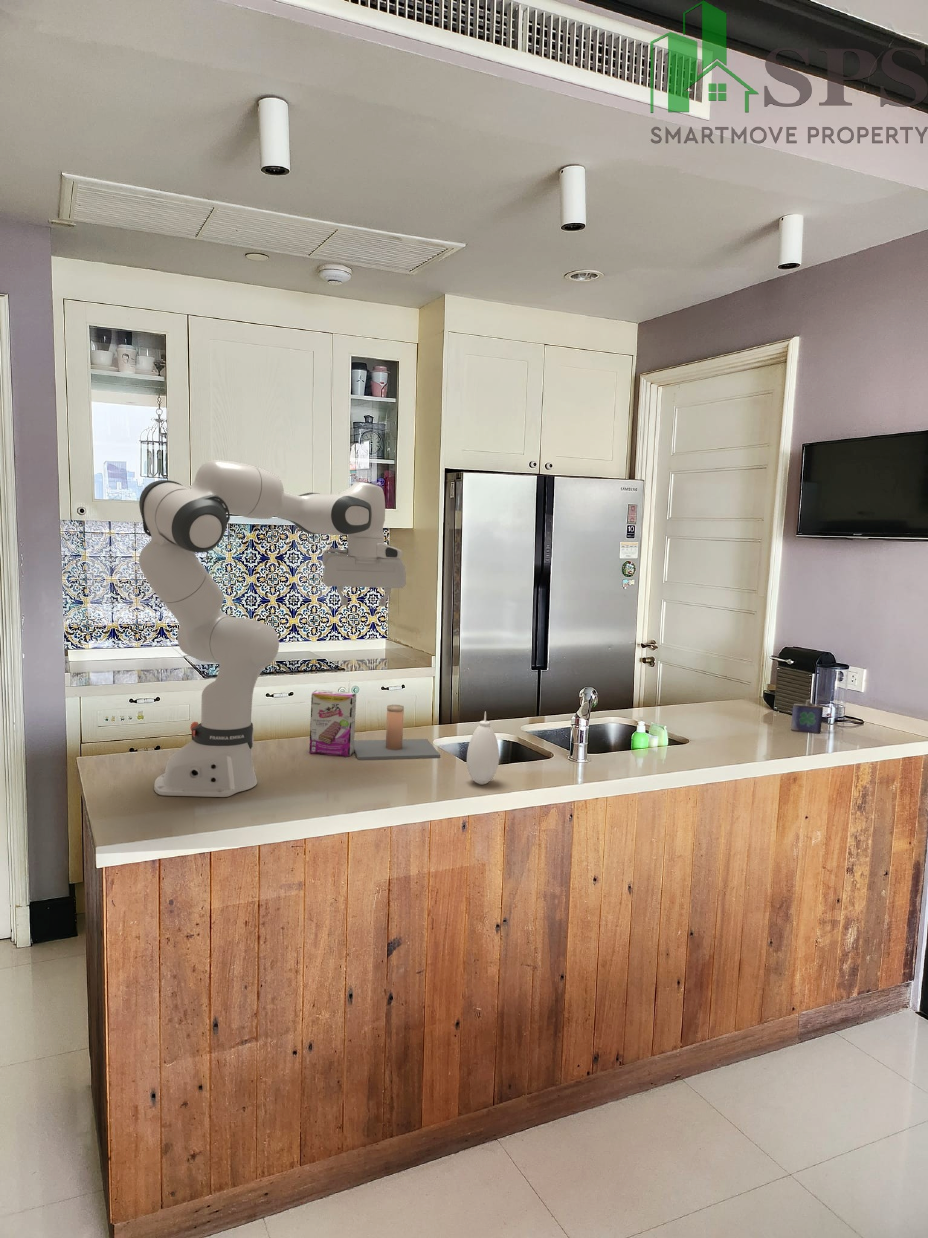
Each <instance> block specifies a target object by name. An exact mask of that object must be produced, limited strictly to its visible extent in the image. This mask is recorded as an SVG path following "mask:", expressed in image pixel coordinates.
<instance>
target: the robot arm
mask: <svg viewBox="0 0 928 1238" xmlns="http://www.w3.org/2000/svg"><path fill="white" fill-rule="evenodd" d="M284 489H285V488H284V485H283V483H282V480H281V478H280V477H279V476H278V475H276V474H275V473H273V472H271V471H269V470H267V469H265V468H262V467H259V466H256V465H253V464H249V463H244V462H241V461H233V460H228V459H227V460H226V459H210V460H208V461H205V462H204V463H202V465H201V466H200V467H199V468H198V470H197V472H196V474H195V478H194V482H193V483H192V484H190V485H189V486H188V487H186V486H184V485H183V484H181V483H179V482H178V481H174V480H169V479H160V480H156V481H152V482H150V483H149V484H148V485H147V486H145V487H144V488H143V490H142V492H141V494H140V496H139V501H138V503H139V504H138V507H139V513H140V515H141V519H142V529H143V531H144V533H145V534H146V535H147V536H149V537H151V538H150V541H149V542H148V543H147V544H146V545H145V546H144V547H143V548H142V550H141V552H140V553H139V556H138V557H139V558H138V564H139V567H140V570H141V572H142V574H143V576H144V577H145V579H146V581H147V583H148V584H149V586H150V588H151V589H152V590H153V591H154V593H155V595H157V597H158V598H159V599H160V600H161V602H163V604H164V605H165V607H166V608H167V609H168V610H169V612H170V613H171V614H172V616H174V618H175V619H176V621H177V622H178V624H179V627H178V631H177V637H176V638H177V643H178V646H179V649H180V650H181V651H182V652H183V653H184V654H185V655H187V656H189V657H191V658H194V659H196V660H198V661H201V662H206V663H213V664H218V665H219V669H218V672H217V676H216V678H215V680H214V681H212V682H210V683H209V684H207V685H206V686H205V687H204V688H203V690H202V692H201V715H200V716H201V718H200V719H201V721H200V723H199V722H198V721H193V722H192V723H191V724H190V731H191V740H190V741H189V742H188V743H186V744H184V745H183V746H182V747H181V748H180V749H178V750H177V751H175V752H174V753H173V754H171V756H170V757H169V758H168V761H167V762H166V765H165V769H164V773H162V774H161V775H159V776H158V777H157V778H156V779H155V781H154V785H153V789H154V791H155V793H156V794H158V795H159V796H170V797H171V796H173V797H175V796H176V797H177V796H178V797H211V798H212V797H215V798H216V797H217V798H218V797H219V798H226V797H227V798H228V797H231V796H233V795H235V794H238V793H240V792H245V791H246V790H250V789H252V788H254V787H255V786H256V785H257V784H258V780H257V777H256V773H255V772H256V771H255V767H254V759H253V750H252V749H253V747H254V746H253V745H254V732H255V731H254V724H253V722H252V710H253V709H252V708H253V695H254V690H255V686H256V683H257V680H258V678H259V676H260V675H261V673H262V672H263V671H264V670H265V668H267V667H268V666H270V665H271V664H272V663H273V662H274V660H275V659H276V657H277V654H278V652H279V646H280V640H279V636H278V633H277V631H276V630H275V629H274V627H272V626H271V625H269V624H267V623H263V622H262V621H258V620H256V619H250V618H244V617H236V616H231V615H228V614H226V613H225V612H224V611H222V610H221V609H222V606H223V603H224V602H223V601H224V594H223V591H222V590H221V588H220V587H219V585H218V584H217V583H216V581H214V579H213V578H212V576H211V575H210V573H209V572H208V571H207V569H206V568H205V566H204V565H203V564H202V563H201V562H200V561H199V559H198V558H197V556H196V553H207V552H210V551H211V550H214V549H215V548H216V547H217V546H218V545H219V544H220V542H221V541H222V539H223V538H224V535H225V533H226V531H227V527H228V526H227V525H228V523H229V521H230V520H231V515H236V516H240V517H242V518H243V517H244V518H249V519H257V520H258V519H259V520H260V519H261V520H266V519H267V520H269V519H272V518H278V519H281V520H285V521H289V522H290V523H292V524H293V525H295V526H296V527H297V528H298V529H300V531H302V532H304V533H306V534H308V535H329V536H330V535H332V536H333V535H334V536H347V548H335V547H330V548H328V549H326V550H324V551H323V553H322V556H321V557H322V561H321V562H322V565H323V566H324V567H323V573H322V583H323V584H324V585H325V586H326V587H336V591H337V593H338V595H339V597H340V605H341V606H348V604H349V603H348V601H349V597H345V596H344V594H343V592H344V589H345V588H346V587H347V588H373V589H374V588H375V589H376V588H378V589H381V588H382V589H383V592H384V595H383V596H382V598H379V599H378V601H379V602H378V605H379V606H380V607H386V606H387V599H388V598H389V597H390V595H391V593H392V589H404V587H405V586H406V583H407V582H406V580H407V578H406V577H407V576H406V567H405V563H404V561H403V560H401V558H402V557H403V552H402V551H403V550H402V549H400V548H396V547H394V546H392V545H390V544H385V535H384V524H385V521H386V497H385V494H384V490H383V488H382V487H381V486H380V485H378V484H376V483H373V482H367V481H360V480H358V481H354V482H353V483H352V484H351V486H350V487H348V488H346V489H345V490H343V491H340V492H338V493H318V492H305V493H303V494H298V495H297V494H294V493H291V492H287V491H284Z"/></svg>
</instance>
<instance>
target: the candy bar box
mask: <svg viewBox="0 0 928 1238" xmlns="http://www.w3.org/2000/svg"><path fill="white" fill-rule="evenodd" d="M310 699H311V701H310V702H311V703H310V704H311V705H310V724H309V727H310V729H309V730H310V731H309V748H308V749H309V750H308V751H309V754H318V755H326V754H327V756H337V757H338V756H341V757H351V755H352V754H353V753H354V740H355V731H356V730H355V728H356V709H357V708H356V707H357V693H355V692H344V691H334V690H323V689H321V690H320V689H316V690H314V691H313V692H312V693H311V698H310Z"/></svg>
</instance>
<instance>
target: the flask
mask: <svg viewBox="0 0 928 1238" xmlns="http://www.w3.org/2000/svg"><path fill="white" fill-rule="evenodd" d="M823 711H824V707H823V706H822V705H819V704H818V703H817V704H816V703H812V702H811V699H806V700H805V703H804V704H802V703H794V704H793V707H792V716H791V724H790V731H791V732H797V733H798V732H799V733H804V734H805V733H807V734H808V733H809V734H816V735H818V734H819V735H820V734H821V731H822V724H823V722H822V721H823V713H824V712H823Z"/></svg>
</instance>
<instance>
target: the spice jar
mask: <svg viewBox="0 0 928 1238" xmlns="http://www.w3.org/2000/svg"><path fill="white" fill-rule="evenodd" d="M404 709H405V708H404V705H400V704H389V705H387V707H386V729H385V730H386V731H385V740H386V748H387V749H390V750H399V749H402V740H403V738H404V736H403V735H404V734H403V733H404V716H405V715H404V712H405V711H404Z"/></svg>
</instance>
